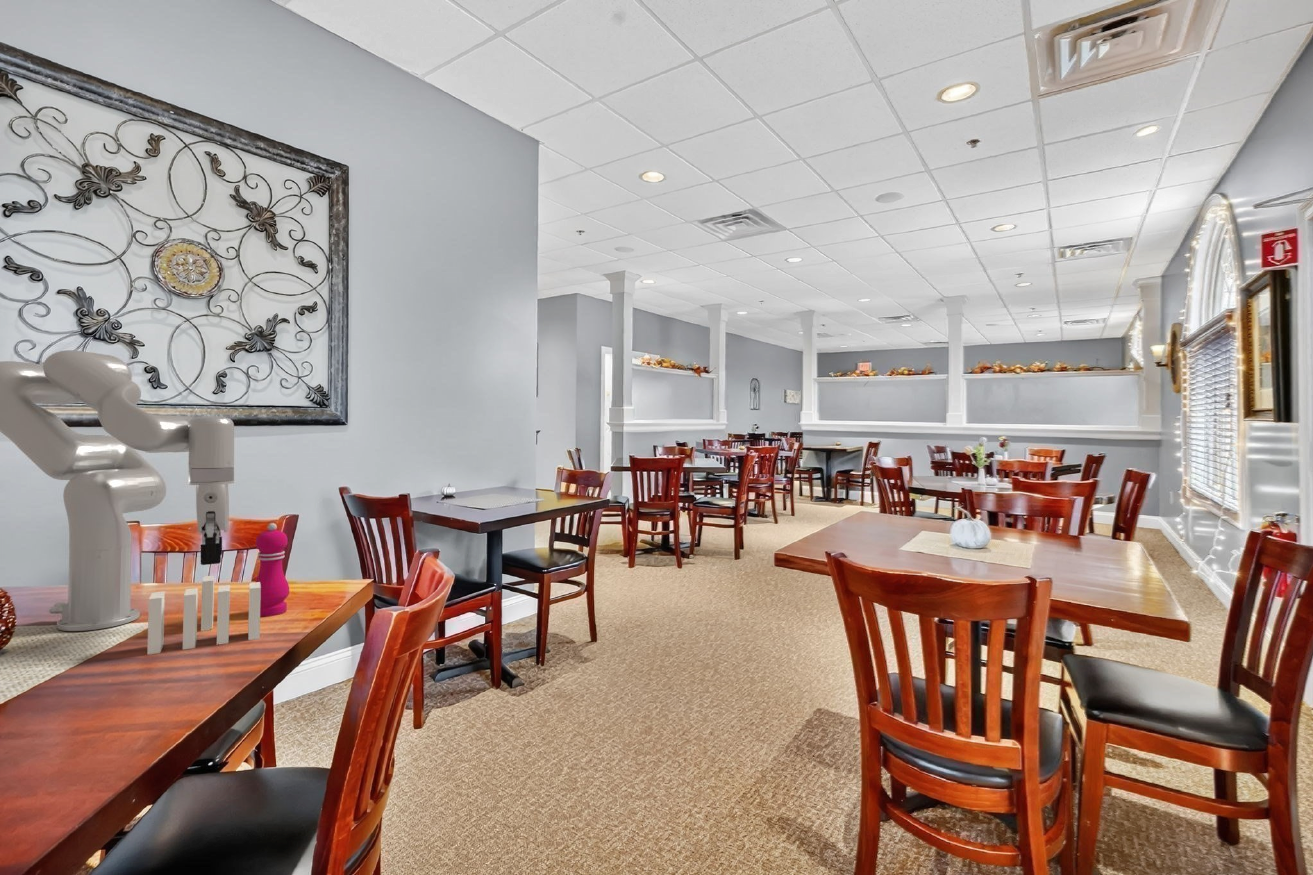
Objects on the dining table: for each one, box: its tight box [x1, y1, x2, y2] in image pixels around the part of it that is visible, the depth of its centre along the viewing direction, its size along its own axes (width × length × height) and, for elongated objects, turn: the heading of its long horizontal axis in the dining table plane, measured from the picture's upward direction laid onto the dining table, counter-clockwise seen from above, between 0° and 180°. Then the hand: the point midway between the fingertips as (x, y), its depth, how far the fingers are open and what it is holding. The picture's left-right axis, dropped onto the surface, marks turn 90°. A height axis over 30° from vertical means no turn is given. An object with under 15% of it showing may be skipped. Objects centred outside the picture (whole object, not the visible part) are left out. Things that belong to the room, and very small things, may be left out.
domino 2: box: [182, 587, 199, 651], centre depth 113 cm, size 2×5×10 cm, turn 35°
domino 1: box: [146, 591, 166, 656], centre depth 110 cm, size 2×5×10 cm, turn 35°
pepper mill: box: [254, 522, 290, 617], centre depth 134 cm, size 7×7×20 cm
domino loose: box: [200, 575, 215, 632], centre depth 123 cm, size 2×5×10 cm, turn 35°
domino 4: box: [247, 582, 261, 641], centre depth 119 cm, size 2×5×10 cm, turn 35°
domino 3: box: [216, 584, 231, 646], centre depth 116 cm, size 2×5×10 cm, turn 35°
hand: (211, 559), depth 123 cm, fingers open, 9 cm apart
